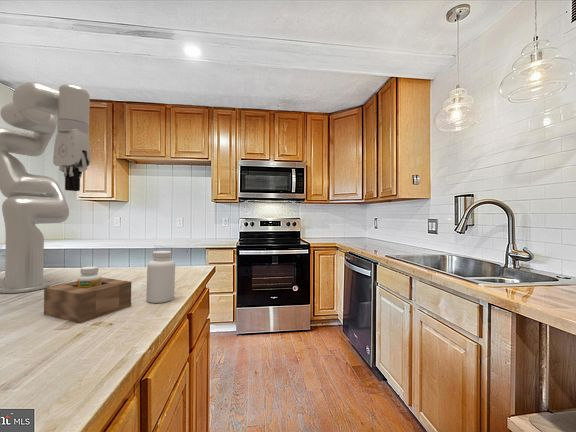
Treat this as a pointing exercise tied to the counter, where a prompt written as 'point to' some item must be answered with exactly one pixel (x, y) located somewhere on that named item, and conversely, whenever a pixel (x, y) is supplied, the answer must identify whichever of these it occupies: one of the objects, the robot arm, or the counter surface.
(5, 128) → the robot arm
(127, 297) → the socket block
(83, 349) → the counter surface
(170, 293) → the pill bottle
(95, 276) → the supplement bottle
